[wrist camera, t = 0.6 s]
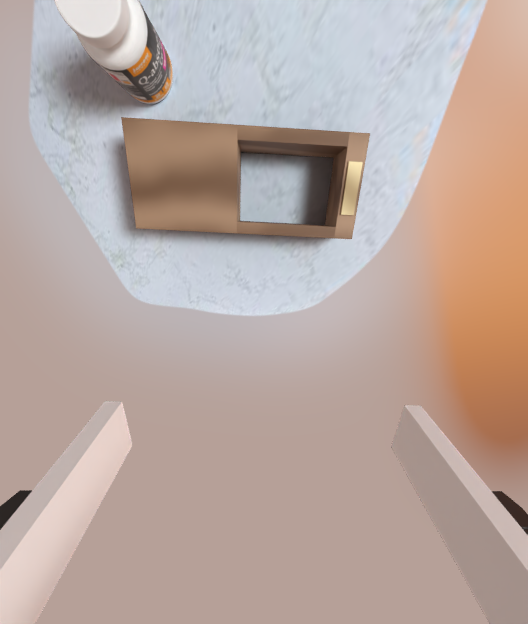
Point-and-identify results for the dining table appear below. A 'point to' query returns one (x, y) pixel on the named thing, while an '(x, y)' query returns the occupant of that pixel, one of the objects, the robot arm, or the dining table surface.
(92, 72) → the dining table surface
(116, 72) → the pill bottle
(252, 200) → the dining table surface
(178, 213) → the brown wooden open box
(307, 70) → the dining table surface
